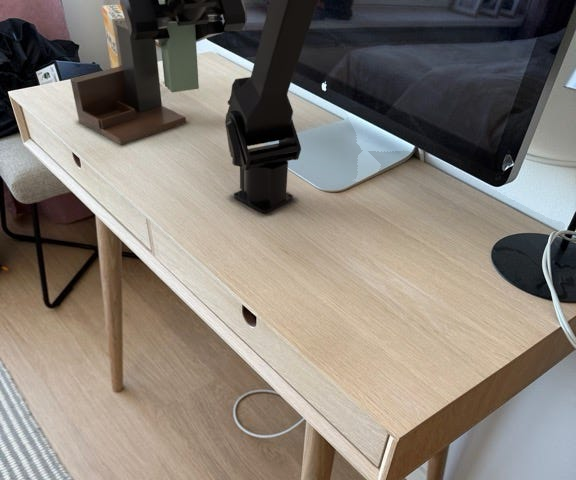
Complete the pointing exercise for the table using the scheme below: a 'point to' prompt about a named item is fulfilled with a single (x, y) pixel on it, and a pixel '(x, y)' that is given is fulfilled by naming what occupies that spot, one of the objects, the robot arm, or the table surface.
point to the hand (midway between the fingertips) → (175, 42)
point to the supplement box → (113, 31)
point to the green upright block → (180, 58)
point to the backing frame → (125, 94)
